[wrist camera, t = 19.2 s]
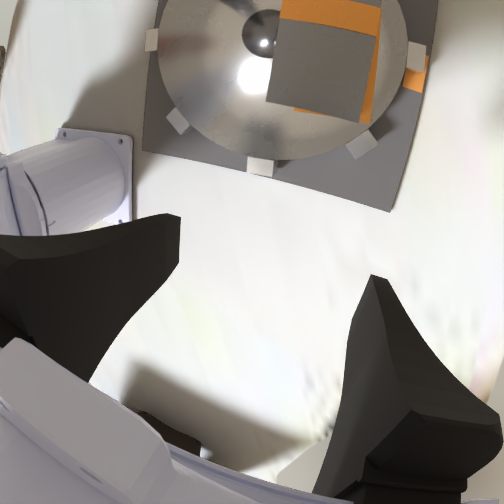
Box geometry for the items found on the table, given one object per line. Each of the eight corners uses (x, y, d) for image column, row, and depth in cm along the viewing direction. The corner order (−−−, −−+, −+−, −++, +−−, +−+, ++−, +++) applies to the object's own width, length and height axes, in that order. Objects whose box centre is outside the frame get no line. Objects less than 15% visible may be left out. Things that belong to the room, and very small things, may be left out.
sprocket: (260, 220, 22) (238, 248, 18) (118, 47, 19) (77, 46, 15) (475, 78, 13) (503, 76, 9) (288, -106, 10) (270, -137, 6)
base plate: (144, 149, 23) (141, 150, 22) (176, -67, 14) (173, -69, 13) (389, 211, 19) (390, 213, 19) (440, -44, 10) (441, -46, 10)
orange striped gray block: (296, 99, 16) (264, 101, 11) (319, -27, 12) (296, -76, 7) (359, 115, 15) (358, 123, 10) (383, -15, 11) (390, -61, 6)
